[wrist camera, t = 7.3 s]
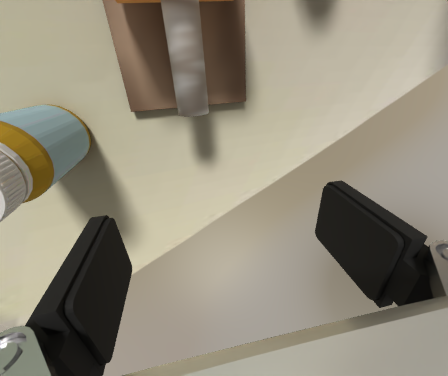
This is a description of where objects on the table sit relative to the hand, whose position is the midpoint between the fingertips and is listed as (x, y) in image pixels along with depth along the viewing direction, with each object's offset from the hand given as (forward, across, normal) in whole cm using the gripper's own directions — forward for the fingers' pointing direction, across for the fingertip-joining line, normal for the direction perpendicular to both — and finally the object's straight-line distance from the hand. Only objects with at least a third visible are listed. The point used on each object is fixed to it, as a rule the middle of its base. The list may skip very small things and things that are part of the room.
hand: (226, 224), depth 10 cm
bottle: (+22, +16, 0) cm, 27 cm away
